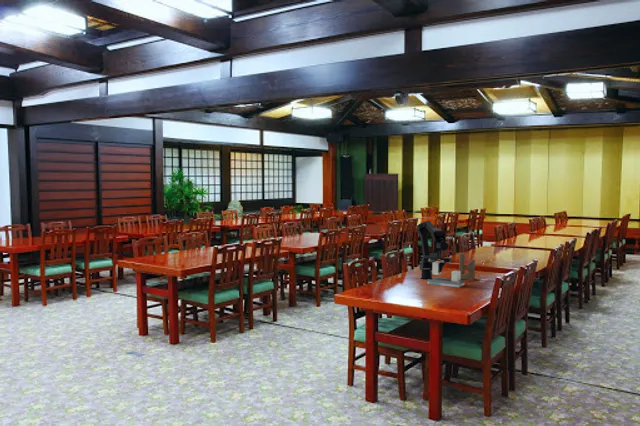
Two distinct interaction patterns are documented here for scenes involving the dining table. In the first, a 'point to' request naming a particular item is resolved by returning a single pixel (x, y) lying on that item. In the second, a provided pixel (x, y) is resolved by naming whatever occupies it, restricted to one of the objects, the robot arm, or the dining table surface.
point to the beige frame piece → (469, 267)
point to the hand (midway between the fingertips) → (437, 271)
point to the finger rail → (448, 280)
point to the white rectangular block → (436, 268)
